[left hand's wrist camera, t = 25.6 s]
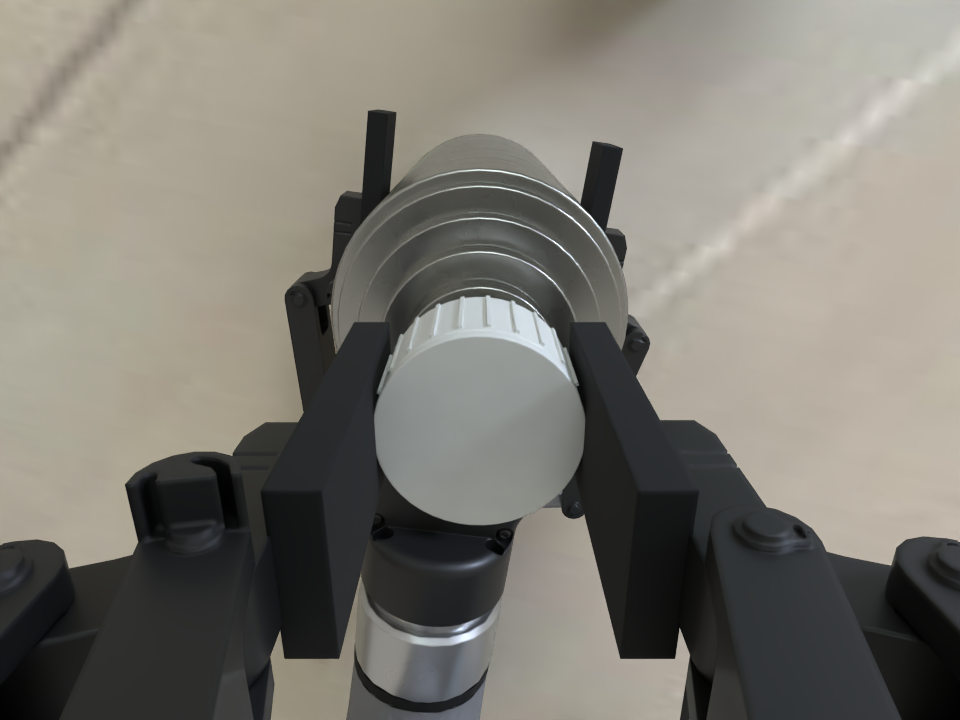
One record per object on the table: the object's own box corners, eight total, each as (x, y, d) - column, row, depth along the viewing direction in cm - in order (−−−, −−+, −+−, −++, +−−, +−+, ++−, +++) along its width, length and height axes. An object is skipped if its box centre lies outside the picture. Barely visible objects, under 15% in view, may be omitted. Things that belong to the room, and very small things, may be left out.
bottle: (511, 100, 32) (572, 107, 11) (589, 249, 34) (759, 487, 13) (366, 189, 33) (173, 348, 12) (452, 325, 36) (413, 645, 15)
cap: (605, 408, 15) (628, 465, 12) (452, 491, 16) (448, 559, 13) (509, 257, 13) (516, 289, 11) (349, 356, 14) (324, 406, 12)
